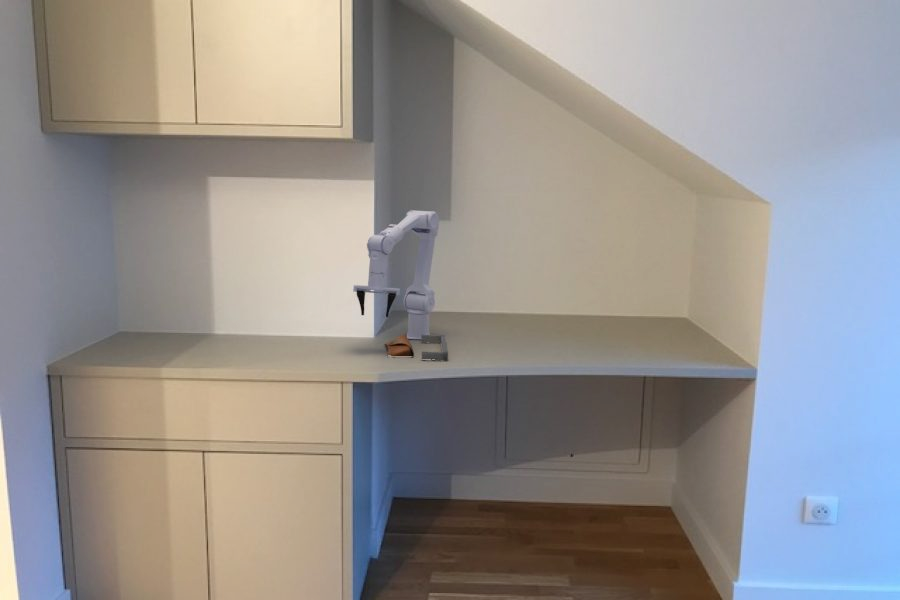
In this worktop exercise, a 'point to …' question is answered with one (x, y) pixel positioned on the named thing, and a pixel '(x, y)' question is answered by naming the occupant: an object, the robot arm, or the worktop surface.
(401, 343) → the sunglasses case
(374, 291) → the robot arm
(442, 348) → the keeper bracket
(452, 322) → the worktop surface
